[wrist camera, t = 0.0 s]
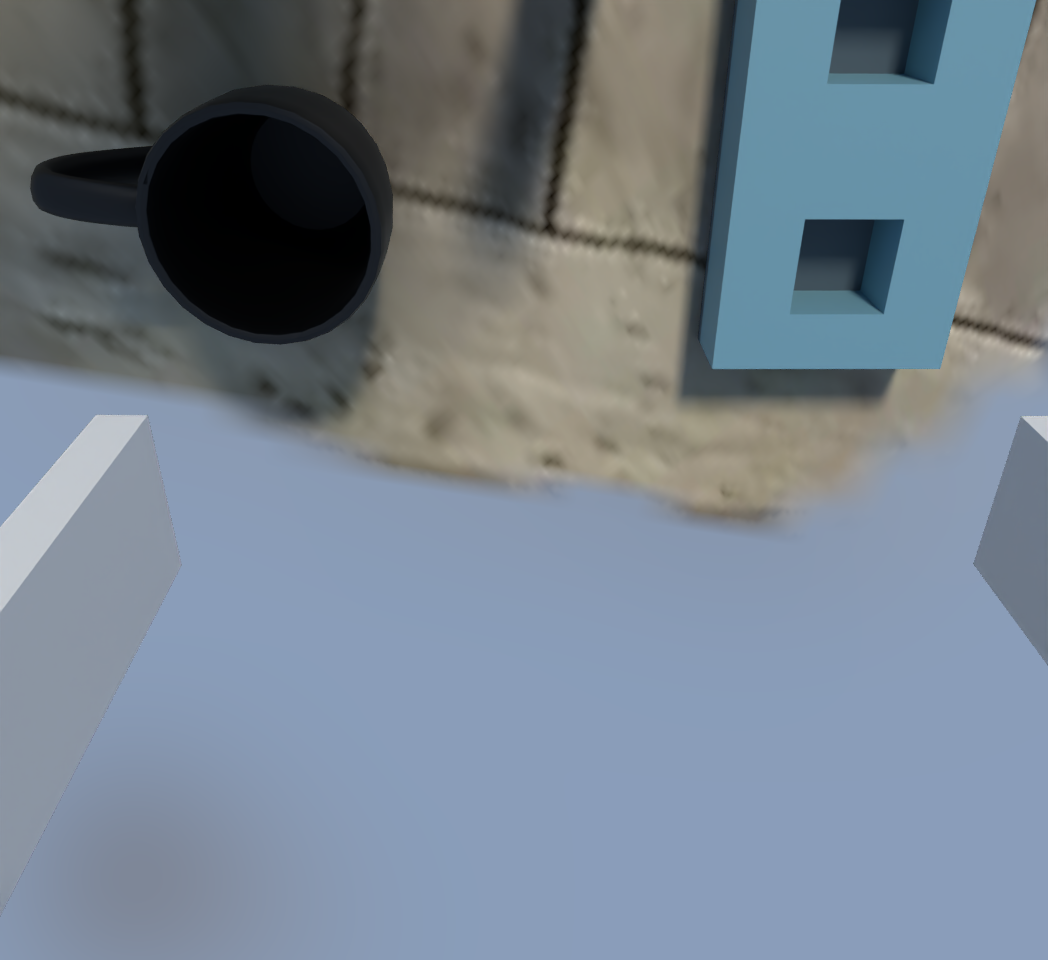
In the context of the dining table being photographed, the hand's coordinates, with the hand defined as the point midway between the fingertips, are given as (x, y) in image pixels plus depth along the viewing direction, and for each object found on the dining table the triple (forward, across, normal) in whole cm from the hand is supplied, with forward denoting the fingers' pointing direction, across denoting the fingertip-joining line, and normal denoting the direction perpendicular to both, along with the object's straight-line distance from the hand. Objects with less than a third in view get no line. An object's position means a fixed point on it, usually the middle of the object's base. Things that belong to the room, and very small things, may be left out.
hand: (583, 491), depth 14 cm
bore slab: (+28, +13, 0) cm, 31 cm away
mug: (+28, -11, -1) cm, 30 cm away
